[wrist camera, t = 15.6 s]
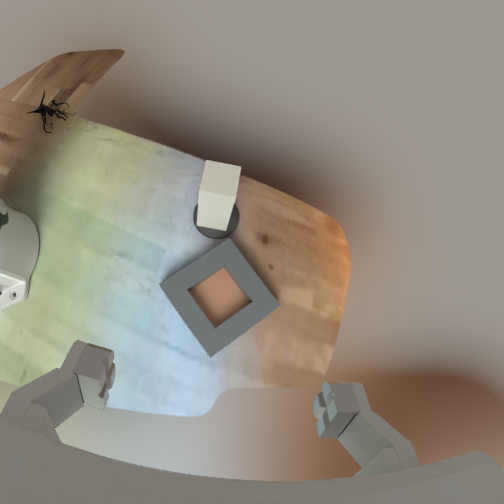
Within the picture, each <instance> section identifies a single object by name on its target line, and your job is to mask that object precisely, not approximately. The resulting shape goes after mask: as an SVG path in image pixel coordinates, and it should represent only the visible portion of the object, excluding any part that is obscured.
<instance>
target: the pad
mask: <svg viewBox="0 0 504 504" xmlns="http://www.w3.org/2000/svg"><path fill="white" fill-rule="evenodd" d="M197 213H198V204H197V206H196V208H195V210H194V218H193V219H194V224H195V226H196V228H197V229H198V231H199V232H200V233H202V234H203V235H205V236H207V237H209V238H214V239H219V238H224V237H227V236H228V235H230V234H231V233H232V232H233V231H234V230H235V229H236V227H237V224H238V221H239V213H238V210H237V208H236V206H235V205H234V206H233V209H232V212H231V216H230V219H229V222H228V226H227V229H226V231H223V230H218V229H213V228H207V227H202V226H197Z"/></svg>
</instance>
